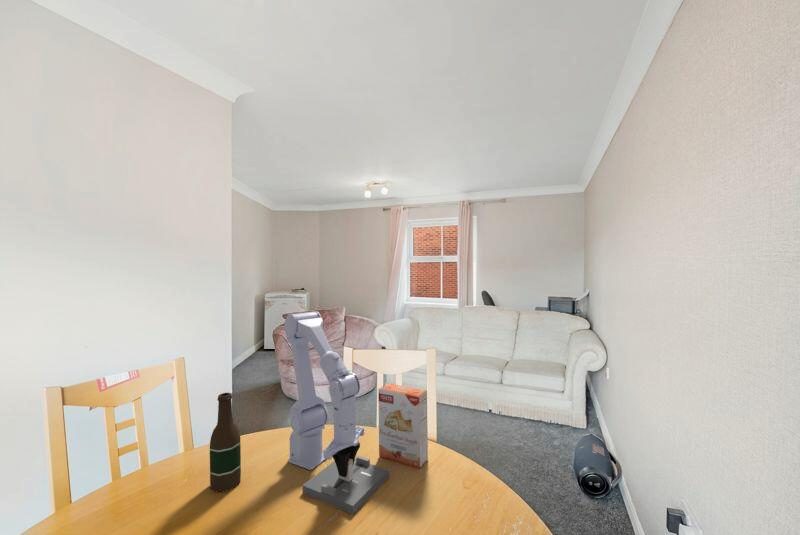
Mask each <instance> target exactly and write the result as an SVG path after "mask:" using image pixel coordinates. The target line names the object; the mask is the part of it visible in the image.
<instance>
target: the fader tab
mask: <svg viewBox="0 0 800 535" xmlns="http://www.w3.org/2000/svg"><path fill="white" fill-rule="evenodd" d="M338 478H340V479H343V480H345V481H348V482H350V481H351V480H352V479H353V459H350V458H349V461H348V471H347V476H346V477H342V476H339V473H338Z"/></svg>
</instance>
